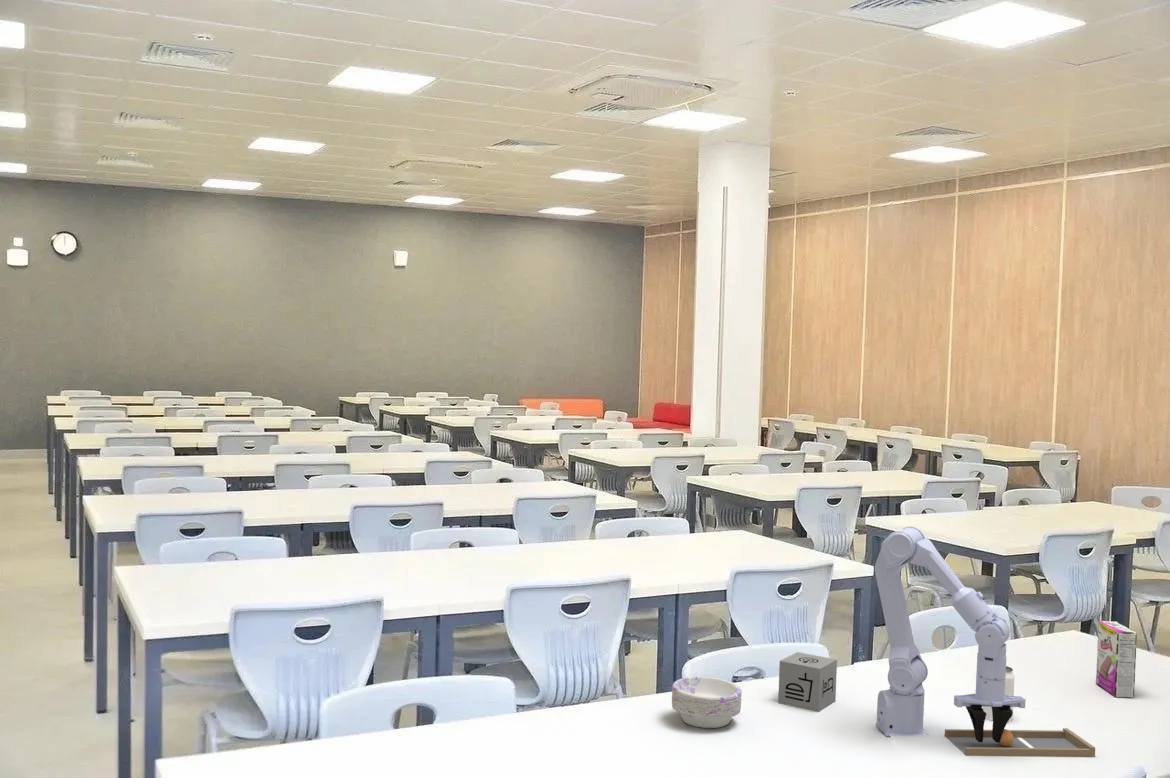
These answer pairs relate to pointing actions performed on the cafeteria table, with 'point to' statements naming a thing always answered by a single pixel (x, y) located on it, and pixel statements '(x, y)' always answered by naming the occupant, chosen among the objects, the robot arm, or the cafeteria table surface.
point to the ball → (1006, 738)
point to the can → (1008, 691)
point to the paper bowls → (706, 701)
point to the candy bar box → (1116, 659)
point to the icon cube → (807, 681)
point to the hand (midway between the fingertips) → (987, 740)
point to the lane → (1023, 743)
